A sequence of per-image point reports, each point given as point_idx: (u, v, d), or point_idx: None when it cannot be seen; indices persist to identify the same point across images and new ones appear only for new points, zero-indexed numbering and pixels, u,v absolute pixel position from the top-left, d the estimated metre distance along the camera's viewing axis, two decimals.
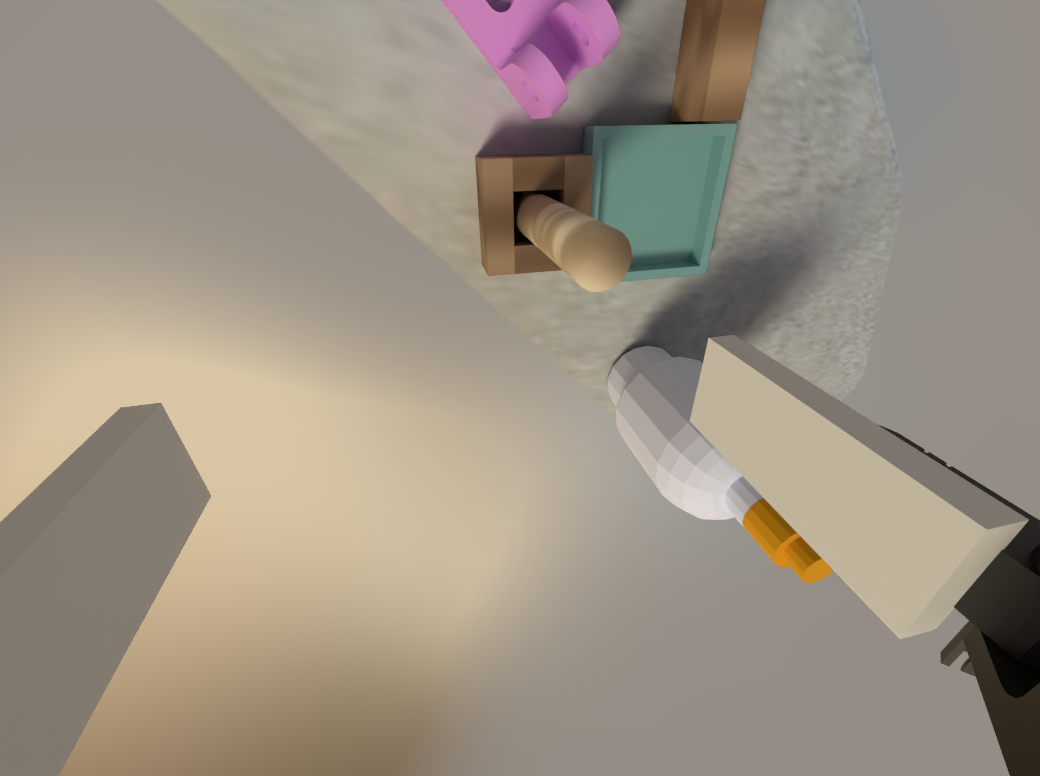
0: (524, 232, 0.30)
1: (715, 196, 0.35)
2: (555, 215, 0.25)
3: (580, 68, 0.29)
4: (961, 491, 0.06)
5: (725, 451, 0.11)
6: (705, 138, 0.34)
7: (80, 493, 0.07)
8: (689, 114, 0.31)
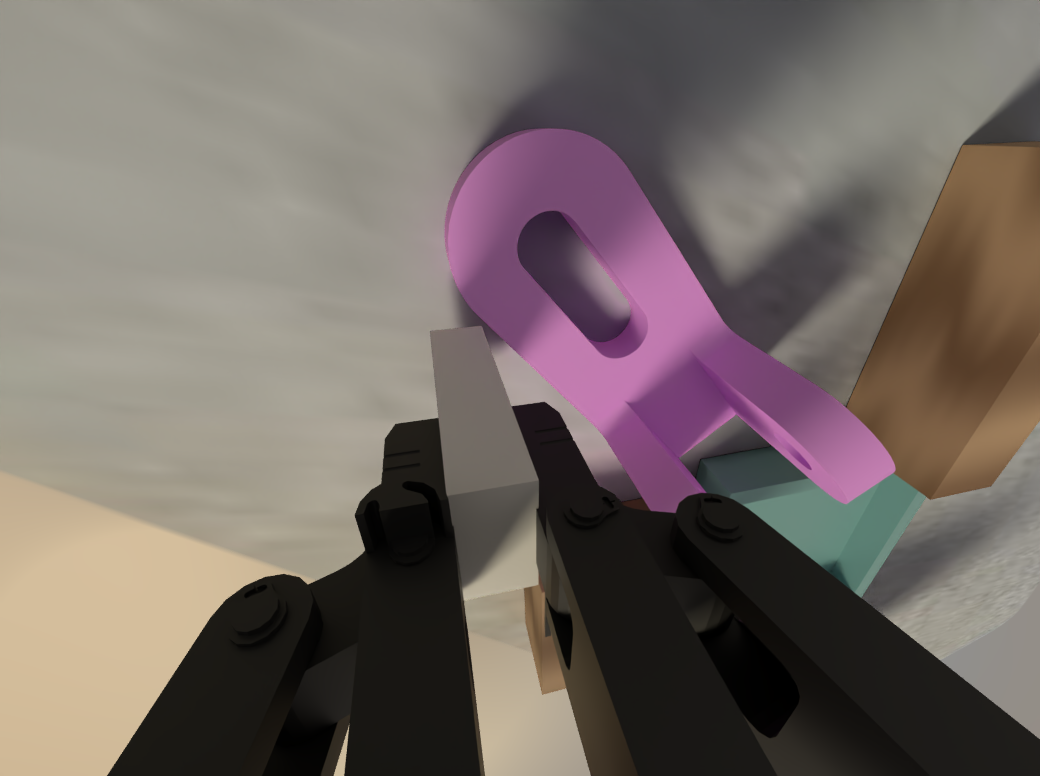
0: None
1: (898, 527, 0.22)
2: None
3: (743, 420, 0.16)
4: (511, 457, 0.07)
5: None
6: None
7: None
8: None
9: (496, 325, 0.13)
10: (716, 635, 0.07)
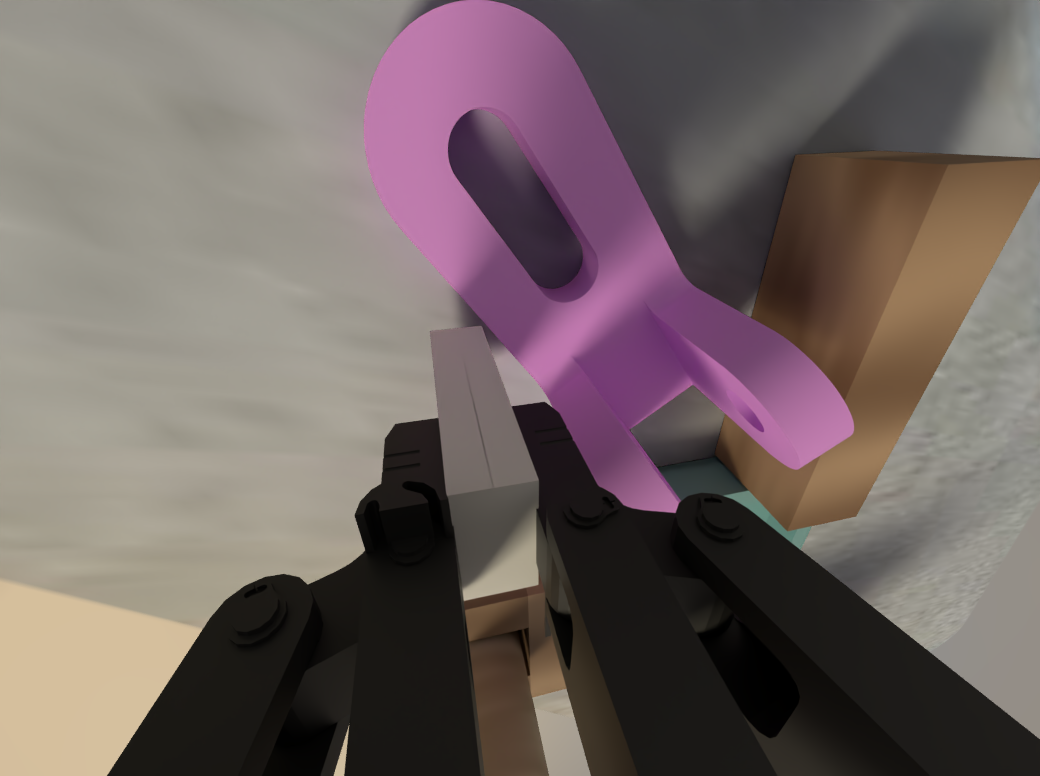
0: None
1: None
2: None
3: (699, 389, 0.15)
4: (511, 458, 0.07)
5: None
6: None
7: None
8: (757, 489, 0.17)
9: (423, 244, 0.11)
10: (716, 635, 0.07)
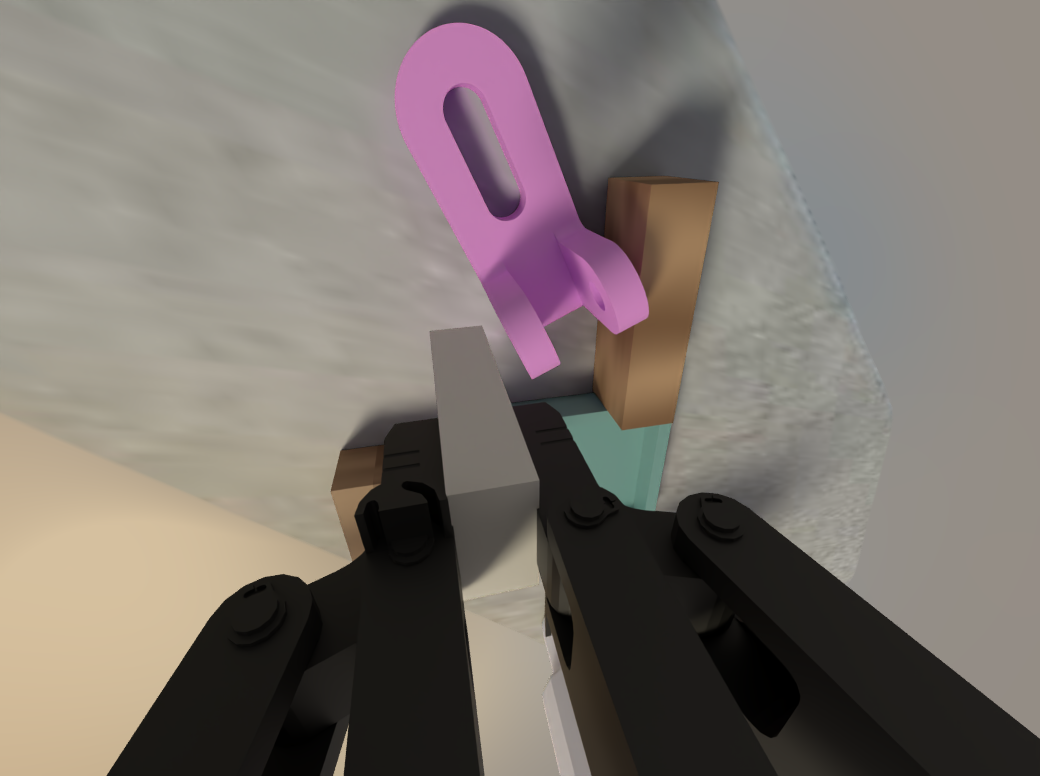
0: None
1: (654, 468, 0.28)
2: None
3: (585, 306, 0.22)
4: (511, 457, 0.07)
5: None
6: None
7: None
8: (609, 406, 0.24)
9: (418, 157, 0.18)
10: (716, 635, 0.07)
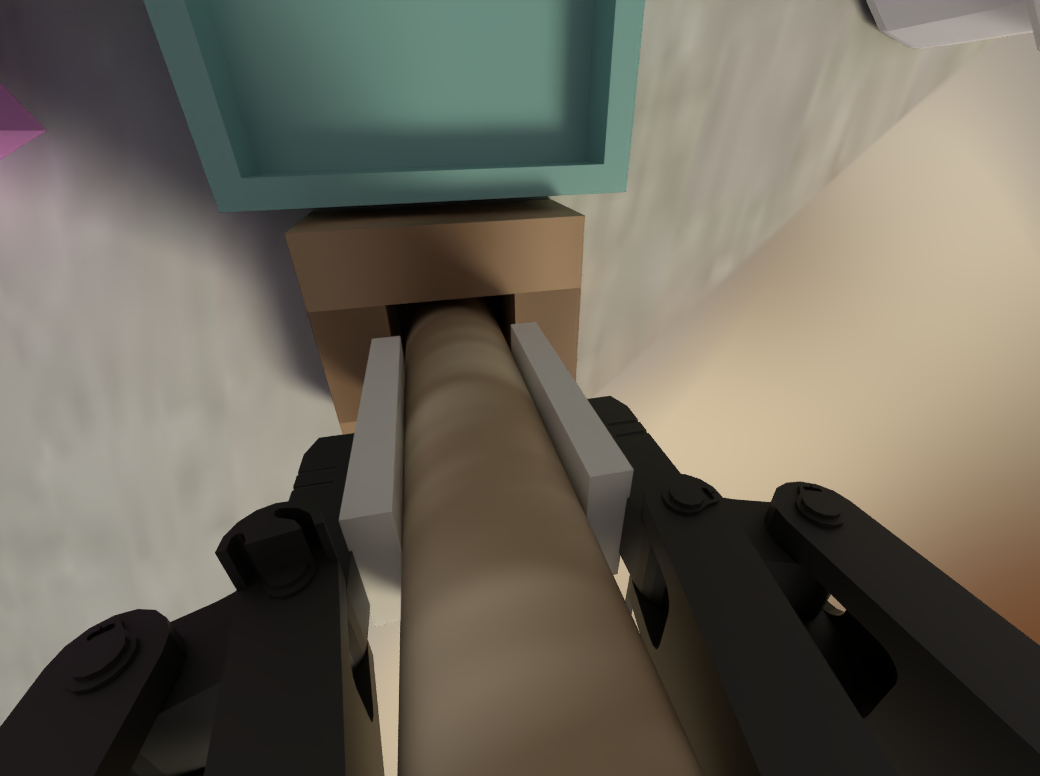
0: None
1: None
2: None
3: None
4: (600, 448, 0.07)
5: None
6: None
7: (396, 385, 0.10)
8: None
9: None
10: (803, 621, 0.07)
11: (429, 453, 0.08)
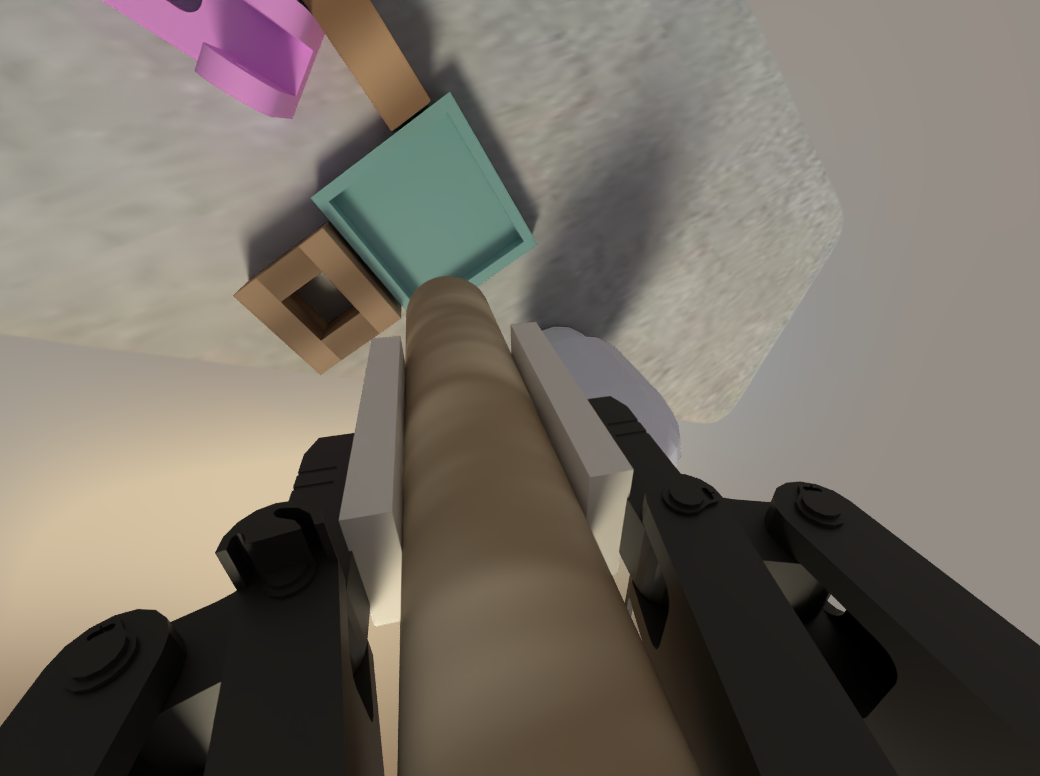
0: None
1: (485, 171, 0.31)
2: None
3: (310, 48, 0.26)
4: (600, 448, 0.07)
5: None
6: (439, 121, 0.30)
7: (396, 385, 0.10)
8: None
9: None
10: (803, 621, 0.07)
11: (429, 451, 0.08)
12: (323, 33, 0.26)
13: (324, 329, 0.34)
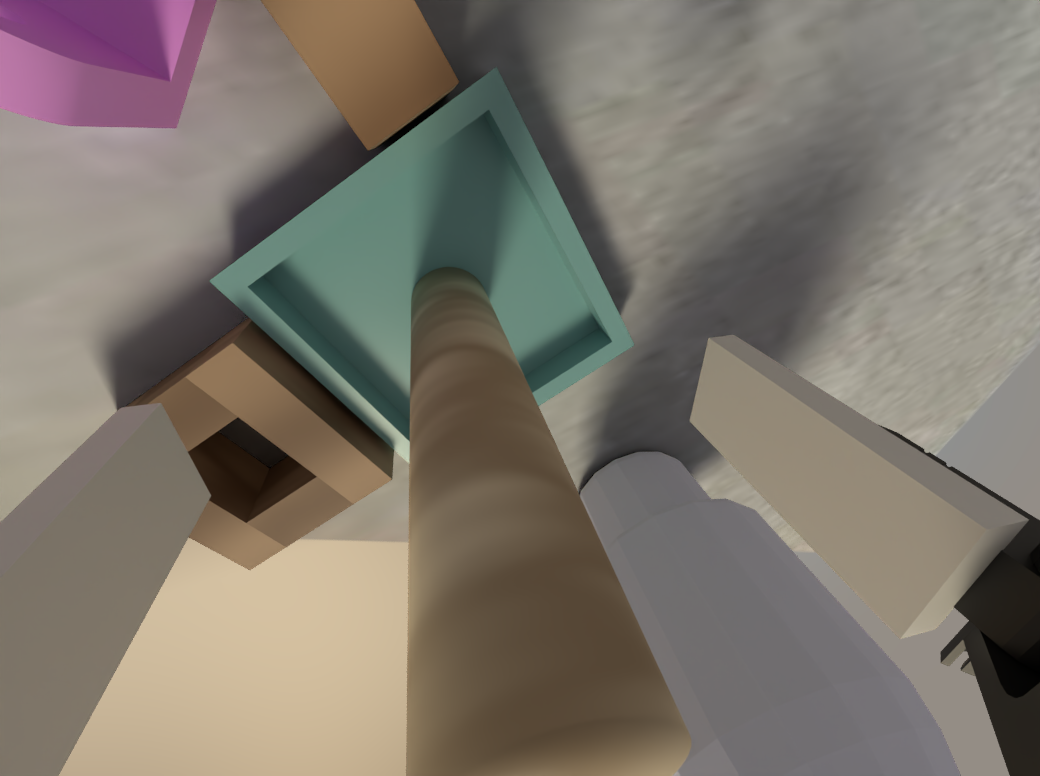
0: None
1: (556, 225, 0.16)
2: None
3: None
4: (961, 491, 0.06)
5: (725, 451, 0.11)
6: (470, 128, 0.15)
7: (80, 493, 0.07)
8: None
9: None
10: None
11: (431, 404, 0.09)
12: None
13: (259, 487, 0.20)
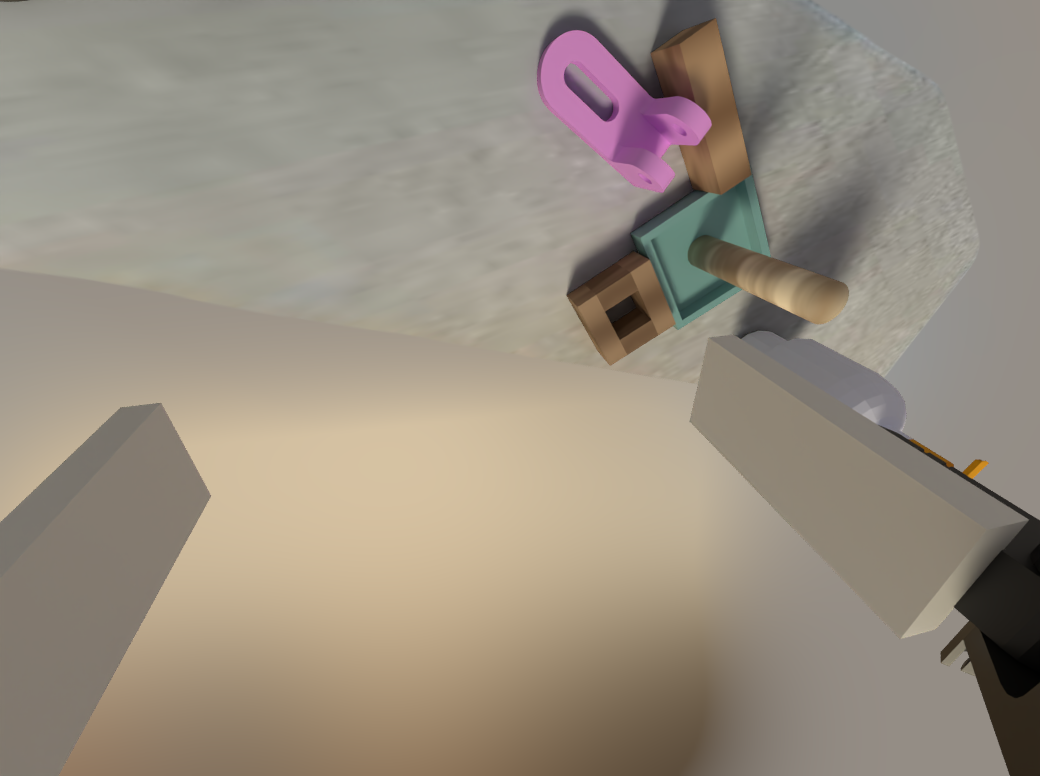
0: None
1: (755, 218, 0.42)
2: (759, 293, 0.36)
3: (672, 143, 0.37)
4: (961, 491, 0.06)
5: (725, 451, 0.11)
6: None
7: (80, 493, 0.07)
8: (708, 188, 0.39)
9: (561, 113, 0.35)
10: None
11: (761, 263, 0.35)
12: None
13: None
